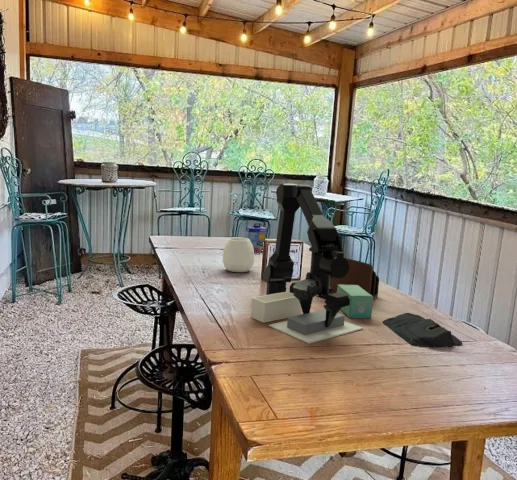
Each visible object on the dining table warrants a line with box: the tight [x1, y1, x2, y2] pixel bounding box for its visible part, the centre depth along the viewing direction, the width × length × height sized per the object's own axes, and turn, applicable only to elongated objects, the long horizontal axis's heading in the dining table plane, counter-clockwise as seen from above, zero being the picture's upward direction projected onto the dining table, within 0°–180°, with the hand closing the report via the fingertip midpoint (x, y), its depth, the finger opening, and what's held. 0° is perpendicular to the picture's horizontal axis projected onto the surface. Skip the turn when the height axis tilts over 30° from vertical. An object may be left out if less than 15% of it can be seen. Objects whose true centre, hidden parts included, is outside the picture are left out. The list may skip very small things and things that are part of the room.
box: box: [337, 284, 374, 319], centre depth 160 cm, size 7×14×8 cm, turn 10°
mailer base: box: [250, 290, 302, 324], centre depth 152 cm, size 6×15×6 cm, turn 129°
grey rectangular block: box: [286, 308, 346, 335], centre depth 143 cm, size 7×16×3 cm, turn 129°
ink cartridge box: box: [245, 222, 268, 251], centre depth 255 cm, size 10×6×14 cm, turn 112°
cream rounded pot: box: [222, 236, 255, 273], centre depth 209 cm, size 13×13×14 cm
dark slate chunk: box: [382, 312, 463, 349], centre depth 144 cm, size 15×22×5 cm
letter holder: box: [329, 257, 380, 300], centre depth 181 cm, size 10×20×14 cm, turn 59°
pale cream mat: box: [268, 320, 364, 345], centre depth 144 cm, size 16×22×1 cm
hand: (316, 323), depth 143 cm, fingers open, 8 cm apart
